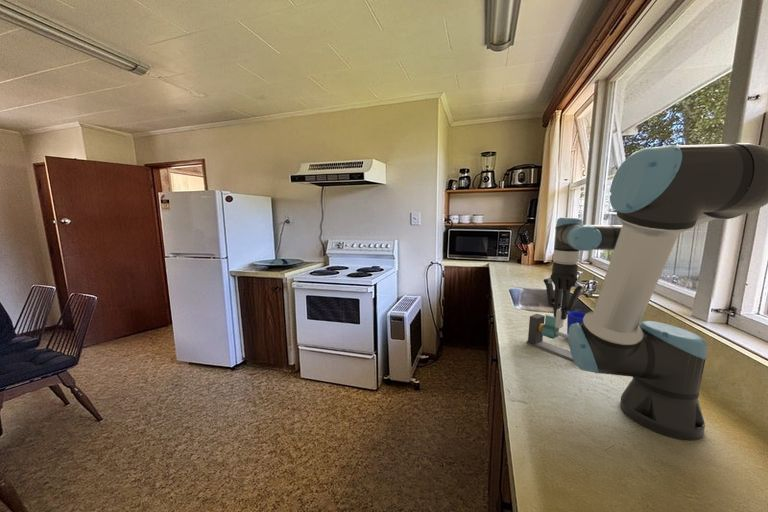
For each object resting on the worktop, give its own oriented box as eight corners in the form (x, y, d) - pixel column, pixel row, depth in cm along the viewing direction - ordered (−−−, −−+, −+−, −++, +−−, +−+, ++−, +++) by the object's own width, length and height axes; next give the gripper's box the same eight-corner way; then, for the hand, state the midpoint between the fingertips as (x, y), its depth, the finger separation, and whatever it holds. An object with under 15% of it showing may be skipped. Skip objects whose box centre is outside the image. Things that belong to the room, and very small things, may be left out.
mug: (604, 343, 113) (607, 318, 112) (573, 343, 113) (575, 318, 112) (590, 334, 121) (592, 311, 120) (560, 334, 122) (563, 311, 120)
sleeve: (558, 336, 108) (560, 317, 106) (552, 339, 105) (554, 319, 104) (547, 332, 111) (549, 313, 110) (541, 335, 109) (543, 315, 108)
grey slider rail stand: (587, 359, 101) (590, 329, 99) (580, 364, 98) (584, 332, 96) (533, 339, 116) (535, 313, 115) (526, 342, 114) (528, 315, 112)
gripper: (591, 264, 98) (584, 330, 102) (551, 258, 109) (546, 319, 113) (581, 266, 94) (573, 335, 98) (540, 260, 105) (535, 323, 109)
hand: (559, 326), depth 105 cm, fingers closed
